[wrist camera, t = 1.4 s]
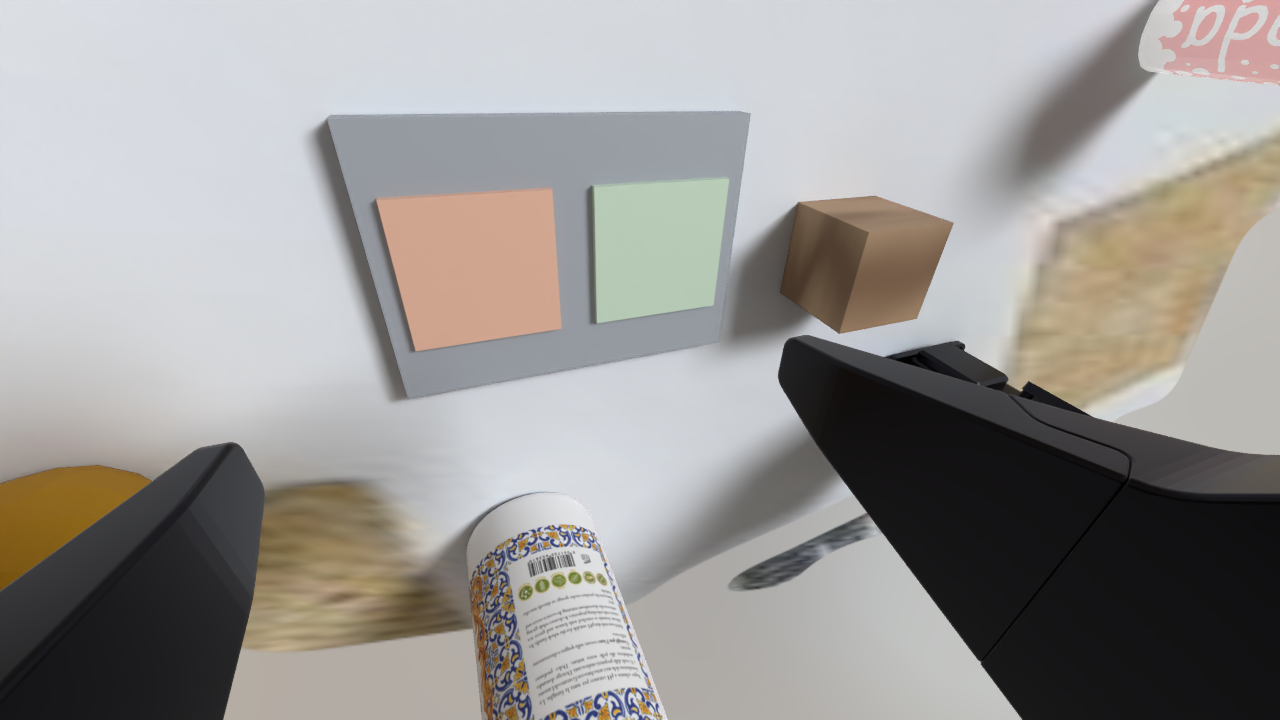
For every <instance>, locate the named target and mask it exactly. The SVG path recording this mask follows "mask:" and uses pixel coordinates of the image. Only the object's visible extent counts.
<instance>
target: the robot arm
mask: <svg viewBox="0 0 1280 720" xmlns="http://www.w3.org/2000/svg"><path fill="white" fill-rule="evenodd" d="M964 349H965V345H964V344H963V343H961V342H959V341H954V342H949V343H945V344H940V345H936V346H931V347H927V348H922V349H918V350H913V351H909V352H904V353H900V354H895V355H892V356H890V357H889V358H885V357H881V356H878V355H874V354H871V353H868V352H864V351H861V350H857V349H854V348H851V347H847V346H844V345H840V344H837V343H833V342H830V341H827V340H823V339H820V338H816V337H813V336H809V335H803V336H798V337H793V338H789V339H788V340H787V341H786V343H785V345H784V348H783V353H782V358H781V362H780V367H779V371H778V379H779V383H780V385H781V387H782V389H783V391H784V392H785V394H786V395H787V397H788V399H789V400H790V402H791V404H792V405H793V407H794V409H795V410H796V412H797V414H798V415H799V417H800V419H801V420H802V422H803V424H804V425H805V427H806V429H807V430H808V432H809V434H810V435H811V437H812V438H813V440H814V441H815V443H816V445H817V446H818V447H819V449H820V450H821V452H822V453H823V454H824V456H825V457H826V458H827V460H828V461H829V462H830V464H831V465H832V466H833V468H834V469H835V470H836V472H837V473H838V474H839V476H840V477H841V478H842V480H843V481H844V482H845V484H846V485H847V486H848V488H849V489H850V490H851V492H852V493H853V494H854V496H855V497H856V498H857V500H858V501H859V502H860V504H861V505H862V506H863V508H864V509H865V510H866V512H867V513H868V514H869V516H870V517H871V518H872V520H873V521H874V522H875V524H876V525H877V526H878V528H879V529H880V530H881V532H882V533H883V534H884V536H886V538H887V540H888V541H889V542H890V544H891V545H892V546H893V548H894V549H895V550H896V552H897V553H898V554H899V556H900V557H901V558H902V560H903V561H904V562H905V563H906V565H907V566H908V568H909V569H910V570H911V572H912V573H913V574H914V576H915V577H916V578H917V580H918V581H919V582H920V584H921V585H922V586H923V588H924V589H925V590H926V591H927V593H928V594H929V595H930V597H931V598H932V599H933V601H934V602H935V604H936V605H937V606H938V608H939V609H940V610H941V611H942V613H943V614H944V615H945V616H946V618H947V619H948V620H949V622H950V623H951V625H952V626H953V627H954V629H955V630H956V631H957V633H958V634H959V635H960V637H961V638H962V639H963V641H964V642H965V643H966V645H967V646H968V647H969V649H970V650H971V651H972V653H973V654H974V655H975V656H976V658H977V659H978V660H979V661H981V665H982V667H983V668H984V669H985V671H986V672H987V673H988V675H989V676H990V677H991V678H992V680H993V681H994V683H995V684H996V685H997V687H998V688H999V689H1000V691H1001V692H1002V693H1003V695H1004V696H1005V697H1006V699H1007V700H1008V701H1009V703H1010V704H1011V705H1012V707H1013V708H1014V709H1015V710H1016V712H1017V713H1018V715H1019V716H1020V717H1021V718H1022V720H1280V455H1260V454H1248V453H1240V452H1232V451H1227V450H1222V449H1217V448H1213V447H1208V446H1204V445H1200V444H1196V443H1192V442H1188V441H1184V440H1180V439H1176V438H1172V437H1168V436H1164V435H1161V434H1156V433H1153V432H1149V431H1145V430H1140V429H1137V428H1132V427H1129V426H1125V425H1121V424H1117V423H1113V422H1109V421H1105V420H1101V419H1098V418H1094V417H1092V416H1090V415H1089V414H1087V413H1085V412H1083V411H1081V410H1080V409H1078V408H1076V407H1074V406H1072V405H1071V404H1069V403H1067V402H1065V401H1063V400H1062V399H1060V398H1058V397H1056V396H1054V395H1053V394H1051V393H1049V392H1047V391H1045V390H1043V389H1042V388H1040V387H1038V386H1036V385H1034V384H1033V383H1031V382H1029V381H1028V382H1027V383H1026V385H1025V386H1024V387H1023V388H1022V389H1023V391H1022V392H1020V391H1019V390H1017V389H1015V388H1014V387H1012V386H1010V385H1008V384H1007V381H1008V377H1007V376H1006V375H1005V374H1004V373H1002V372H1000V371H998V370H997V369H995V368H993V367H991V366H990V365H988V364H986V363H984V362H983V361H981V360H979V359H977V358H976V357H974V356H972V355H970V354H969V353H967V352H965V351H964ZM264 501H265V493H264V488H263V484H262V482H261V480H260V478H259V477H258V475H257V473H256V471H255V469H254V468H253V466H252V464H251V462H250V461H249V459H248V457H247V455H246V454H245V452H244V450H243V449H242V447H241V446H240V445H238V444H236V443H233V442H228V443H223V444H217V445H212V446H207V447H202V448H199V449H197V450H195V451H193V452H192V453H191V454H189V455H188V456H187V457H185V458H184V459H182V460H181V461H180V462H178V463H177V464H175V465H174V466H173V467H171V468H170V469H168V470H167V471H166V472H164V473H163V474H162V475H160V476H159V477H157V478H156V479H155V480H153V481H152V482H150V483H149V484H148V485H146V486H145V487H144V488H142V489H141V490H139V491H138V492H137V493H135V494H134V495H132V496H131V497H130V498H128V499H127V500H126V501H124V502H123V503H121V504H120V505H119V506H117V507H116V508H114V509H113V510H112V511H110V512H109V513H107V514H106V515H105V516H103V517H102V518H101V519H99V520H98V521H96V522H95V523H94V524H92V525H91V526H89V527H88V528H87V529H85V530H84V531H83V532H81V533H80V534H78V535H77V536H76V537H74V538H73V539H71V540H70V541H69V542H67V543H66V544H65V545H63V546H62V547H60V548H59V549H58V550H56V551H55V552H53V553H52V554H51V555H49V556H48V557H47V558H45V559H44V560H42V561H41V562H40V563H38V564H37V565H35V566H34V567H33V568H31V569H30V570H28V571H27V572H26V573H24V574H23V575H22V576H20V577H19V578H17V579H16V580H15V581H13V582H12V583H10V584H9V585H8V586H6V587H5V588H4V589H2V590H1V591H0V720H223V718H224V714H225V710H226V706H227V702H228V698H229V694H230V690H231V686H232V682H233V678H234V674H235V670H236V666H237V662H238V658H239V654H240V650H241V646H242V642H243V638H244V634H245V630H246V626H247V622H248V618H249V614H250V609H251V605H252V600H253V594H254V587H255V580H256V571H257V562H258V554H259V545H260V536H261V527H262V519H263V510H264Z"/></svg>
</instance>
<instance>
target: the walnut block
mask: <svg viewBox="0 0 1280 720" xmlns="http://www.w3.org/2000/svg"><path fill="white" fill-rule="evenodd" d="M952 226H953V222H950V221H947V220H944V219H941V218H938V217H935V216H932V215H930V214H927V213H924V212H921V211H918V210H915V209H912V208H909V207H906V206H903V205H900V204H897V203H894V202H892V201H889V200H886V199H883V198H880V197H877V196H868V197H856V198H843V199H831V200H819V201H807V202H798V207H797V212H796V217H795V222H794V227H793V231H792V236H791V241H790V246H789V251H788V256H787V261H786V266H785V271H784V275H783V280H782V285H781V290H780V293H782V294H783V295H784V296H786V297H787V298H789V299H790V300H792V301H793V302H794V303H796V304H797V305H799V306H800V307H802V308H803V309H804V310H806V311H807V312H809V313H810V314H812V315H813V316H815V317H816V318H817V319H819V320H820V321H822V322H823V323H825V324H826V325H827V326H829V327H830V328H832V329H833V330H835V331H836V332H838V333H839V334H841V333H846V332H851V331H856V330H861V329H866V328H872V327H877V326H882V325H887V324H892V323H897V322H903V321H908V320H913V319H917V317H918V314H919V312H920V309H921V306H922V304H923V301H924V299H925V296H926V293H927V291H928V288H929V286H930V283H931V280H932V278H933V275H934V273H935V270H936V267H937V265H938V262H939V260H940V257H941V254H942V252H943V249H944V247H945V244H946V241H947V239H948V236H949V234H950V231H951V228H952Z"/></svg>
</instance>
